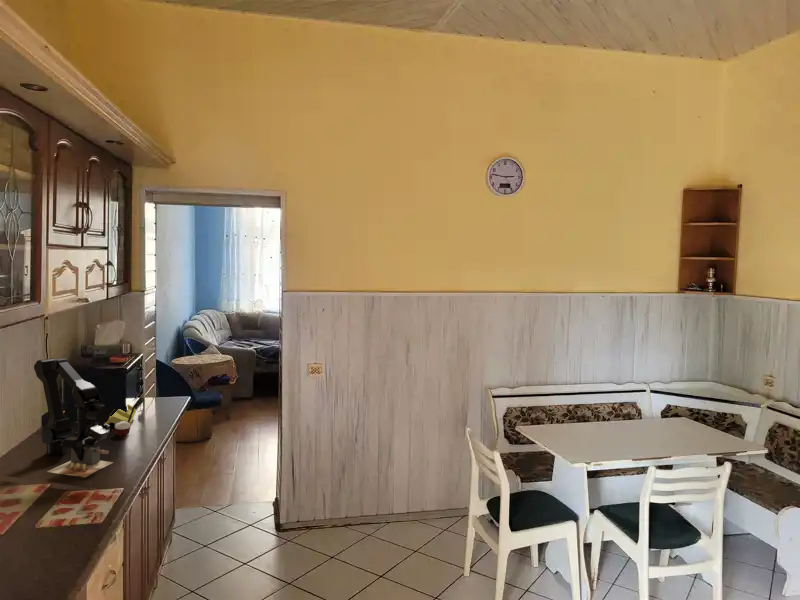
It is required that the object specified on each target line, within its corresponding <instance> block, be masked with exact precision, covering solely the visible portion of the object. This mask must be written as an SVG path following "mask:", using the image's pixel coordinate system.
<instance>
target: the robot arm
mask: <svg viewBox="0 0 800 600" xmlns="http://www.w3.org/2000/svg"><path fill="white" fill-rule="evenodd" d="M33 369H34V372H35V376H36V377H37V378H38V379H39V380H40V382H41V383H42V385H43V392H44V395H45V401H46V406H47V411H48V416H49V419H48V422H47V424H46V431H45V433H44V434H43V435H42V437H41V439H42V440H41V441H42V444H45V445H46V454H48V455H50V456H63V455H65V454H68V448H69V449H71V448H72V449H73V450H74V452H75V453H76V455H77V457H78V459H79V460H80V461H82V460H83V454H84V447H85V446H86V445H94V446H97V443H98V442H101V441H103V440H106V439H107V436H108V435H109V434H110V433H111V426H110V424H106V425H104V424H105V423H106V422H107V421H108V420H109V418H110V415H111V413H110V410H109V409H107V408H106V405H105V404H104V402H103V399H102V397H101V395H100V393H99V391H98V389H97V387H96V386H95V385H94V384H92V383H91V382H90V381H89V382H88V381H86V380H84V379H83V378H82V377H81V375H80V374H78V372H77V371H76V370H75V369H74V368H73V367H72V366H71V364H70V363H69V360H68V359H67V358H57V359H56V358H54V357H51V358H45V359H40V360H39V359H38V360H36V362H35V363H34V365H33ZM59 376H60V377H61V378H62V379H63V380H64V381H65V383H66V384H67V385H68V386H69V387H70V388H71V389H70V390H71V395H72V397H73V398H74V400H75V403H74V405H73V406H74V407H75V408H76V407H77V412H76V413H77V416H76V417H77V419H76V420H77V421H75V422H74V426H76V427H77V428H76V429H77V430H76V432H74V436H72V433H73V428H74V427H73V425H72V419H71V418H70V417H67V416H66V415H65V414H64V408H63V404H62V399H61V394H60V390H59V384H58V377H59ZM98 424H101V425H98Z"/></svg>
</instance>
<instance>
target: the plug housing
mask: <svg viewBox="0 0 800 600" xmlns="http://www.w3.org/2000/svg"><path fill="white" fill-rule="evenodd" d="M70 452H71V453H70V461H71V462H74V463H80V464H84V463H85V464H86V465H93V464H95V463H97V462H100V461H101V454H104V455H109V453H110V451H109V450H104V449H101V446H100V445H95V446H94V445H86V446H85V447H84V454H83V460H82V461H80V460H79V459H78V457H77V455H76V453H75V452H74V450H73V449H72V448H70Z"/></svg>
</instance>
